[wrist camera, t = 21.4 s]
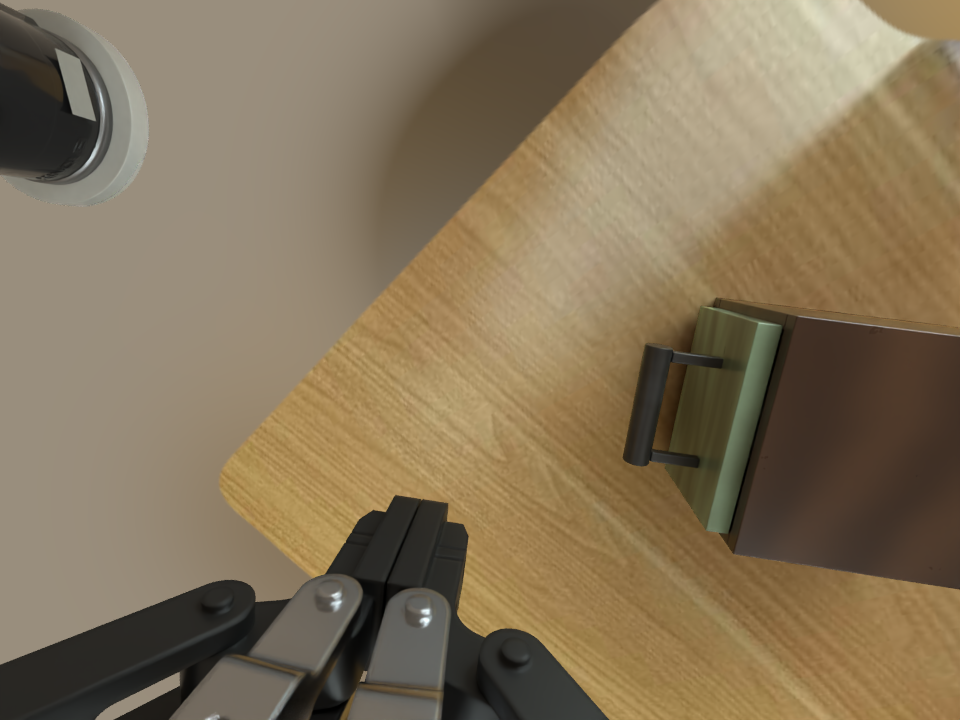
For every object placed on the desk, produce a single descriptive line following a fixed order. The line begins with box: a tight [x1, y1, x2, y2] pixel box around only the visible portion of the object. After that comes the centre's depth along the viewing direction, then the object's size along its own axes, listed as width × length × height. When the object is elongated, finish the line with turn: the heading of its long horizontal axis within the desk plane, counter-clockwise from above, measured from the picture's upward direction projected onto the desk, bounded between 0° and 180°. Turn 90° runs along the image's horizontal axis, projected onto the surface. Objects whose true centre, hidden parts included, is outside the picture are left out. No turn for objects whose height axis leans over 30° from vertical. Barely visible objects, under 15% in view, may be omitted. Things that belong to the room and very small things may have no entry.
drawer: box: [623, 306, 784, 534], centre depth 28 cm, size 18×11×8 cm, turn 83°
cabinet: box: [714, 298, 960, 589], centre depth 28 cm, size 15×13×10 cm
